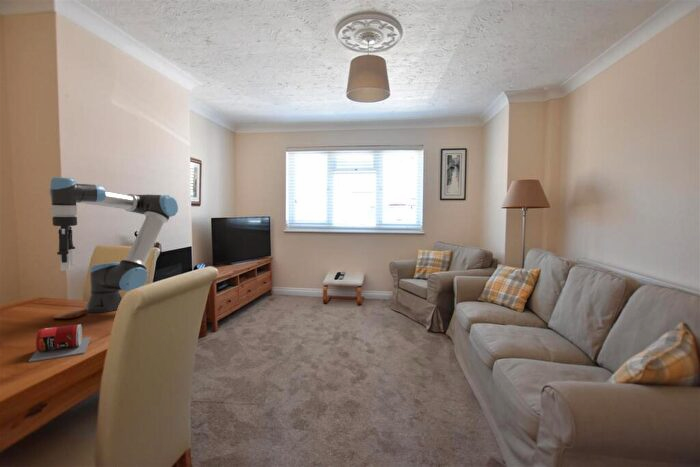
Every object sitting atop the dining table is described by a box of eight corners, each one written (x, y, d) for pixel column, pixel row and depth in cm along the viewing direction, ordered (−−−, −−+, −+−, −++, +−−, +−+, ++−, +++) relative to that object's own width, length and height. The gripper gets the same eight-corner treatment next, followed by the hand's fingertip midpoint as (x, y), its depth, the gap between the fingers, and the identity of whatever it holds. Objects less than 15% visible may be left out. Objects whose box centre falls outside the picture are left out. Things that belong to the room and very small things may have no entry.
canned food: (34, 341, 107) (77, 335, 113) (40, 323, 113) (81, 319, 119) (37, 357, 110) (79, 351, 116) (43, 339, 116) (82, 334, 122)
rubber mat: (41, 344, 118) (41, 343, 118) (90, 338, 126) (90, 337, 125) (28, 362, 104) (28, 360, 104) (84, 353, 112) (84, 352, 112)
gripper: (57, 214, 139) (59, 263, 141) (46, 217, 119) (50, 274, 121) (79, 214, 143) (81, 261, 145) (73, 217, 123) (76, 272, 125)
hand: (67, 267), depth 133 cm, fingers open, 13 cm apart
